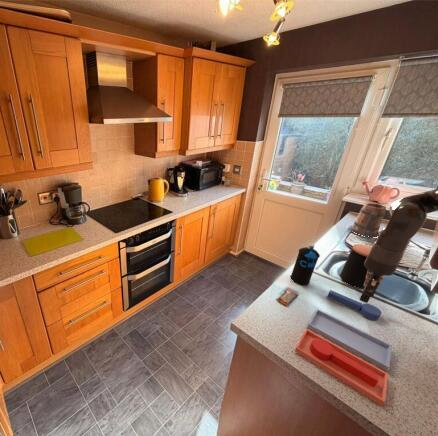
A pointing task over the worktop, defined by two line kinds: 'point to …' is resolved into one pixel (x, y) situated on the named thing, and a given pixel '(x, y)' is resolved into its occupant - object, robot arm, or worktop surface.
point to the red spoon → (342, 361)
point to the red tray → (372, 392)
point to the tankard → (369, 220)
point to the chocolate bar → (287, 297)
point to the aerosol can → (304, 265)
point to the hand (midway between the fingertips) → (364, 295)
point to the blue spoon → (356, 305)
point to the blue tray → (352, 339)
